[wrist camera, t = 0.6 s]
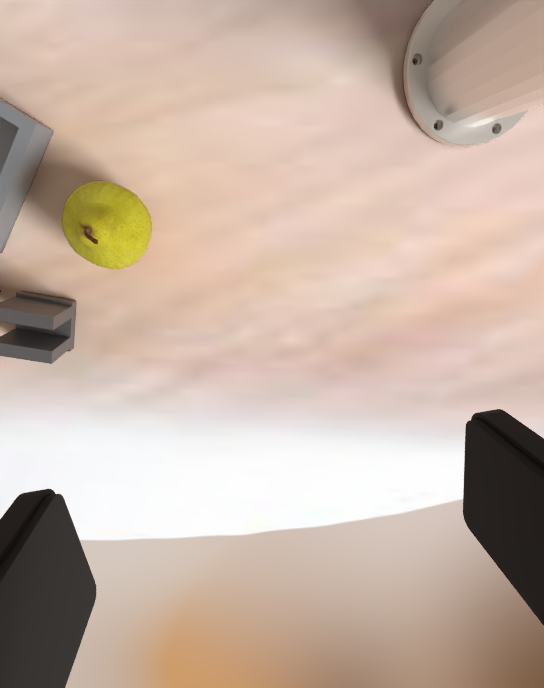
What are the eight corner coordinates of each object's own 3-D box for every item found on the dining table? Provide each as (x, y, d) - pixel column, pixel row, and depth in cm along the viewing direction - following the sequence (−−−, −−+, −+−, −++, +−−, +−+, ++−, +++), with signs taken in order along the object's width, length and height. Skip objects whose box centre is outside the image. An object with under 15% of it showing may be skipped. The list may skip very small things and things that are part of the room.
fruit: (69, 235, 36) (-7, 247, 25) (101, 168, 35) (35, 148, 23) (138, 274, 38) (96, 302, 26) (171, 212, 36) (141, 213, 25)
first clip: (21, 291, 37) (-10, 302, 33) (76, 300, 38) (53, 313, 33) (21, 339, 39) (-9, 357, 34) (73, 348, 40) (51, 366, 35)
